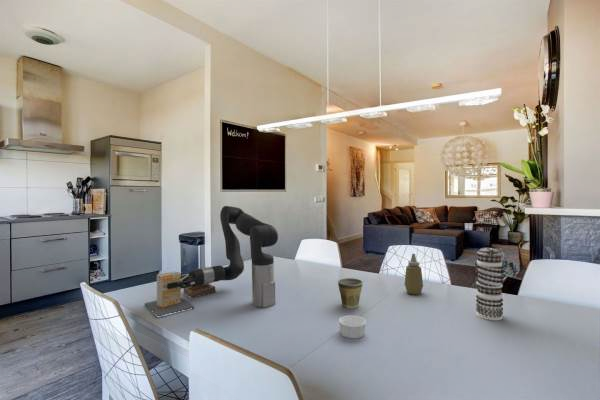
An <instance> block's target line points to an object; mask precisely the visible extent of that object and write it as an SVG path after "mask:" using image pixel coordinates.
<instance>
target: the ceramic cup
mask: <svg viewBox="0 0 600 400" xmlns="http://www.w3.org/2000/svg"><path fill="white" fill-rule="evenodd" d="M337 284H338V290H339V293H340V299H341V304H342V307H344V308H346V309H353V310H354V309H356V308H358V307H359V303H360V298H361V293H362V288H363V281H362V279H359V278H353V277H352V278H350V277H348V278H347V277H346V278H341V279H338V281H337Z"/></svg>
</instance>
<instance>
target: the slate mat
mask: <svg viewBox="0 0 600 400" xmlns="http://www.w3.org/2000/svg"><path fill="white" fill-rule="evenodd" d="M145 305H146V306H147V307H148V308H149V309H150V310H151V311H153V313H155V314H156V315H157V316H162V315H165V314H169V313H174V312H178V311H182V310H187V309H190V308H194V309H195V305H193V304H192V303H190V302H188V301H187V300H186V299H184V298H183V297H181V303H178V304H174V305H171V306H168V307H165V308H161V307H159V306H157V300H153V301H149V302H145V303H144V306H145ZM146 306H145V307H146ZM147 307H146V308H147ZM148 308H147V309H148ZM149 309H148V310H149ZM150 310H149V311H150ZM151 311H150V312H151ZM187 311H188V310H187ZM153 313H152V314H153Z"/></svg>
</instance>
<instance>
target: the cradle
mask: <svg viewBox="0 0 600 400" xmlns="http://www.w3.org/2000/svg"><path fill="white" fill-rule="evenodd" d="M184 293H185V294H184ZM208 293H209V294H212V293H213V294H214V293H216V286H214V285H212V284H211V283H209V284H206V285H201V286H197V287H192V286H191V287H186V288H183V294H184V295H186V294H187V295H188V296H187V295H186V296H187V297H189V296H190V297H193V298H196V297H195V296H197V297H200V296H199V295H201V296H204V295H203V294H205V295H208ZM190 297H189V298H190Z"/></svg>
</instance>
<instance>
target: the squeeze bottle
mask: <svg viewBox="0 0 600 400" xmlns="http://www.w3.org/2000/svg"><path fill="white" fill-rule="evenodd" d="M407 264H408V265H407V266H406V267H405V274H404V277H405V278H404V286H405V290H406V292H407V293H408V294H410V295H420V294H421V293H422V290H423V287H424V282H423V273H422V267H421V266H420V262H419V261H417V256H416V254H415V253H412V255H411V258H410V260H409V261H408V262H407Z"/></svg>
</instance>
